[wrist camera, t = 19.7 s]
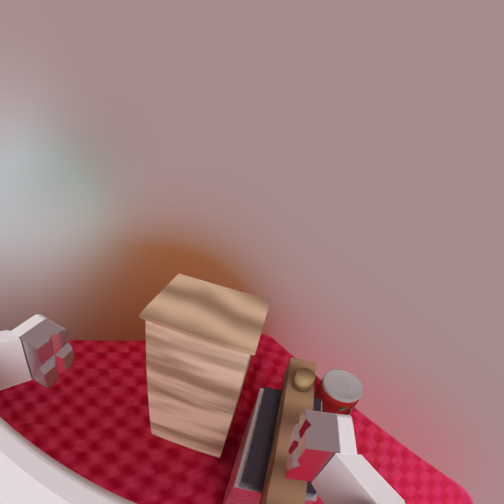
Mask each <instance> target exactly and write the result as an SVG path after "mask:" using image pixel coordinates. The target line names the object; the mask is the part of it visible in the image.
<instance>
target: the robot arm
mask: <svg viewBox="0 0 504 504" xmlns="http://www.w3.org/2000/svg"><path fill="white" fill-rule="evenodd" d="M70 341H71V335H70V332H69V331H68V330H67V329H65V328H63V327H62V326H60V325H58V324H56V323H55V322H53V321H51V320H50V319H47V318H46V317H44V316H42V315H41V314H36V315H34V316H33V317H31V318H30V319H28V320H27V321H25V322H24V323H22V324H21V325H19V326H18V327H16V328H15V329H13V330H12V331H8V330H6V331H0V390H3V389H6V388H9V387H12V386H15V385H18V384H21V383H24V382H27V381H30V380H32V379H34V380H35V381H37V382H38V383H40V384H41V385H43V386H45V387H46V388H49V387H50V386H52V385H53V384H54V383H55V382H56V381H57V380H58V379H59V373H63V372H66V371H67V370H68V369H69V368H70V366H71V364H72V362H73V356H74V354H73V349H72V347H71V345H70V344H69V342H70ZM288 452H289V453H290V455H291V456H290V457H289V459H288V461H287V465H286V477H285V478H288V479H295V480H302V481H309V482H311V484H312V485H313V487H314V489H315V490H316V492H317V494H318V496H319V497H320V499H321V501H322V502H323V504H405V501H404V500H403V499H402V498H401V497H400V496H399V494H398V493H397V492H396V491H395V490H394V489H393V488H392V487H391V486H390V485H389V484H388V483H387V482H386V481H385V480H384V479H383V478H382V477H381V475H380V474H379V473H378V472H377V471H376V470H375V469H374V468H373V467H372V466H371V465H370V464H369V462H368V461H367V460H366V459H365V458H364V457H363V456H362V455H358V454H357V449H356V442H355V435H354V428H353V422H352V417H351V416H350V415H343V414H334V413H327V412H320V411H314V410H307V409H304V410H303V411H302V413H301V415H300V416H299V423H298V424H296V425H295V426H294V428H293V430H292V433H291V436H290V439H289V444H288ZM0 504H136V503H134V502H132V501H129V500H127V499H125V498H123V497H121V496H118V495H116V494H114V493H112V492H110V491H108V490H106V489H104V488H102V487H100V486H98V485H97V484H95V483H93V482H91V481H89V480H87V479H86V478H84V477H82V476H80V475H79V474H77V473H75V472H74V471H72V470H70V469H69V468H67V467H66V466H64V465H62V464H61V463H59V462H58V461H56V460H55V459H53V458H52V457H50V456H49V455H48V454H46V453H45V452H43V451H42V450H41V449H39V448H38V447H36V446H35V445H34V444H32V443H31V442H30V441H28V440H27V439H26V438H25V437H23V436H22V435H21V434H20V433H18V432H17V431H16V430H15V429H14V428H12V427H11V426H10V425H9V424H8V423H7V422H5V421H4V420H3V419H2V418H1V417H0Z"/></svg>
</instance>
